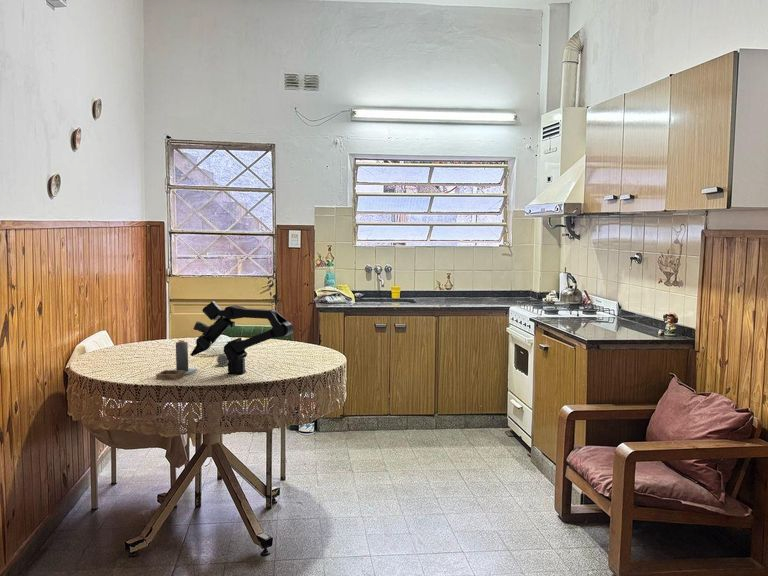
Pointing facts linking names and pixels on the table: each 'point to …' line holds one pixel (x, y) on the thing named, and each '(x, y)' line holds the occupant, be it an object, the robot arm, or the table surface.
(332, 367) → the table surface
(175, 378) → the brown square frame
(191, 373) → the mat
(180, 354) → the grey jar with lid
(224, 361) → the flashlight
